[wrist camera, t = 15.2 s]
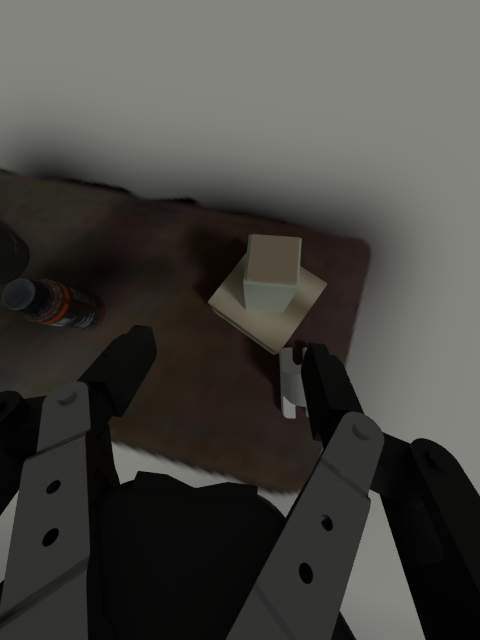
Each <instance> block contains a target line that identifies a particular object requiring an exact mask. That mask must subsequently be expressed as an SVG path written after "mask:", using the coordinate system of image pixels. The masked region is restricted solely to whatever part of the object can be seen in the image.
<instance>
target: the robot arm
mask: <svg viewBox="0 0 480 640" xmlns="http://www.w3.org/2000/svg"><path fill="white" fill-rule="evenodd" d="M27 261H28V248H27V246H26V244H25V243H24V242H23V241H22V240H21V239H19V238H17V237H15V236H14V235H12V234H10V233H8V232H6V231H4V230H2V229H1V228H0V283H5V282H8V281H10V280H13V279H14V278H15V277H17V276H18V275H19V274H20V273H21V272H22V271H23V269H24V268H25V266H26V264H27ZM156 354H157V348H156V344H155V339H154V335H153V330H152V328H151V327H149V326H139V325H135V326H133V327H132V328H131V329H130V331H129V332H128V333H127V334H122V335H121V336H119V337H118V338H116V339H114V340H113V341H112V342H111V343H110V345H109V346H108V347H107V349H105V350H104V351H103V352H102V353H101V356H99V357H98V358H97V359H96V360H95V361H94V362H93V364H92V365H91V366H90V367H89V368H88V369H87V370H86V371H85V372H84V374H83V375H82V376H81V377H80V378H79V379H78V380H77V381H76V382H69V383H66V384H63V385H61V386H59V387H57V388H56V389H54V390H53V391H52V392H51V393H49V394H48V395H47V396H41V397H34V398H28V399H24V398H23V397H22V396H21V395H20V394H19V393H18V392H16V391H4V392H0V515H1V514H2V512H3V511H4V510H5V508H6V507H7V506H8V504H9V502H10V501H11V500H12V499H13V497H14V496H15V494H16V493H17V492H18V490H19V494H18V500H17V506H16V512H15V518H14V524H13V530H12V537H11V542H10V549H9V555H8V561H7V567H6V573H5V579H4V580H3V581H2V582H1V583H0V640H356V638H355V637H354V635H353V633H352V631H351V630H350V628H349V626H348V624H347V623H346V621H345V619H344V617H343V616H342V614H341V612H340V611H339V610H340V607H341V604H342V600H343V597H344V593H345V590H346V587H347V583H348V580H349V577H350V573H351V570H352V567H353V563H354V560H355V557H356V553H357V550H358V547H359V543H360V540H361V537H362V533H363V529H364V527H365V523H366V520H367V517H368V513H369V509H370V504H371V500H370V498H369V497H368V492H369V489H370V490H372V491H375V492H376V493H378V494H380V497H381V500H382V504H383V506H384V510H385V513H386V516H387V519H388V522H389V526H390V529H391V532H392V535H393V538H394V541H395V545H396V548H397V551H398V554H399V557H400V560H401V563H402V567H403V569H404V573H405V576H406V579H407V582H408V585H409V589H410V592H411V595H412V598H413V601H414V604H415V608H416V611H417V613H418V617H419V620H420V623H421V626H422V630H423V633H424V636H425V639H426V640H480V496H479V494H478V493H477V491H476V490H475V488H474V486H473V485H472V483H471V481H470V480H469V478H468V477H467V475H466V474H465V472H464V471H463V469H462V467H461V466H460V464H459V463H458V461H457V460H456V459H455V458H454V456H453V455H452V454H451V453H449V452H448V451H447V450H446V449H445V448H444V447H442V446H441V445H439V444H437V443H435V442H433V441H431V440H428V439H423V438H419V439H416V440H414V441H413V442H412V443H411V444H410V443H407V442H405V441H403V440H400V439H398V438H395V437H393V436H390V435H388V434H386V433H383V432H382V431H381V429H380V427H379V426H378V425H377V424H376V423H375V422H374V421H373V420H372V419H370V418H369V417H368V416H366V415H365V414H364V412H363V410H362V408H361V405H360V403H359V400H358V398H357V396H356V394H355V391H354V389H353V386H352V384H351V383H350V379H349V377H348V375H347V372H346V370H345V367H344V365H343V363H342V362H341V361H340V360H339V359H338V358H337V357H336V356H333V355H329V352H328V349H327V347H326V345H325V344H317V343H309V344H308V346H307V349H306V352H305V355H304V358H303V361H302V365H301V379H302V384H303V389H304V394H305V400H306V405H307V410H308V415H309V421H310V426H311V431H312V436H313V440H315V441H322V444H323V451H322V453H321V455H320V456H319V458H318V460H317V462H316V464H315V466H314V468H313V469H312V471H311V473H310V475H309V477H308V479H307V480H306V482H305V484H304V486H303V488H302V490H301V491H300V493H299V495H298V497H297V498H296V500H295V502H294V504H293V506H292V507H291V509H290V511H289V513H288V515H287V516H286V518H285V517H284V515H283V514H282V513H281V512H280V511H279V510H278V509H277V507H275V506H274V505H273V504H272V503H271V502H270V501H268V500H267V499H265V498H264V497H262V496H260V495H258V494H257V486H255V485H247V484H239V483H231V482H226V483H220V484H215V485H210V486H205V487H199V488H194V487H191V486H189V485H187V484H185V483H183V482H181V481H179V480H177V479H175V478H173V477H171V476H169V475H167V474H159V473H151V472H142V471H138V472H137V474H136V477H135V479H134V480H132V481H128V482H126V483H123V484H120V482H119V478H118V475H117V472H116V469H115V465H114V459H113V452H112V444H111V436H110V429H109V424H108V422H109V420H110V419H111V417H112V416H116V417H122V416H123V415H124V413H125V411H126V409H127V408H128V406H129V404H130V402H131V401H132V399H133V397H134V395H135V394H136V392H137V390H138V389H139V387H140V385H141V383H142V382H143V380H144V378H145V376H146V375H147V373H148V371H149V369H150V368H151V366H152V364H153V362H154V361H155V358H156Z"/></svg>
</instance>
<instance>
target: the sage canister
mask: <svg viewBox="0 0 480 640" xmlns="http://www.w3.org/2000/svg"><path fill="white" fill-rule="evenodd" d="M301 241H302V239H300V238H298V237H284V236H270V235H256V234H252V235H249V239H248V247H247V256H246V265H245V273H244V282H243V286H244V296H245V306H246V310H251V311H262V312H272V313H283V312H284V310H285V309H286V307H287V306H288V304H289V303H290V301H291V299H292V298H293V296H294V295H295V293H296V292H297V290H298V287H299V272H300V256H301Z"/></svg>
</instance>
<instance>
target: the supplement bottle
mask: <svg viewBox="0 0 480 640" xmlns="http://www.w3.org/2000/svg"><path fill="white" fill-rule="evenodd" d="M2 300H3V304H4V305H5V306H6V307H7V308H8V309H11V310H14V311H19V312H20V314H21V315H22V316H23V317H24V318H25V319H27V320H29V321H32V322H36V323H41V324H47V325H53V326H59V327H65V328H71V329H77V330H90V329H93V328H95V327H96V326H98V325H99V324H100V322H101V321H102V319H103V317H104V306H103V304H102V302H101V301H100V300H99V299H98V298H96V297H94V296H91V295H89V294H86V293H84V292H81V291H79V290H76V289H74V288H71V287H69V286H66V285H64V284H61V283H59V282H56V281H53V280H49V279H38V280H35V281H32V280H29V279H25V278H18V279H15V280H13V281H11V282H10V283H9V284H8V285H7V286H6V287H5V289H4V291H3V294H2Z"/></svg>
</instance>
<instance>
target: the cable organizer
mask: <svg viewBox="0 0 480 640" xmlns="http://www.w3.org/2000/svg"><path fill="white" fill-rule="evenodd" d="M306 349H307V348H302V353H303V358H304V355H305V352H306ZM279 356H280V384H281V411H282V413H283V414H284V416H285V417H286V418H296V417H295V406H296V405H297V406H303V407H306V415H307V416H308V417H309V415H308V410H307V405H306V400H305V394H304V389H303V384H302V379H301V365H302V363H301V364H300V365H296V364H295V363H294V362H293V356H292V348H282V349H281V351H280V352H279Z"/></svg>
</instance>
